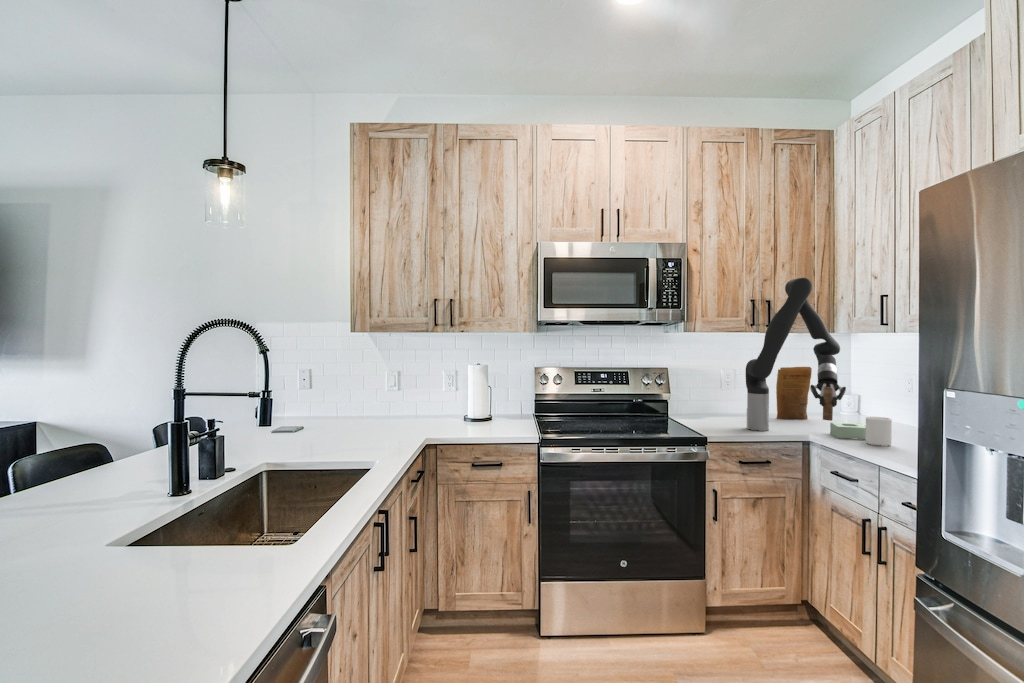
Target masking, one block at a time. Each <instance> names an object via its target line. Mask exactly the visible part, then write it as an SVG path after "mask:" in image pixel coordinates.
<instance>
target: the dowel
mask: <svg viewBox="0 0 1024 683" xmlns="http://www.w3.org/2000/svg"><path fill="white" fill-rule="evenodd" d="M823 397H824V406H822V420H823V421H831V422H833V416H834V415H833V412H834V411H833V410H834V407H833V388H832V387H824V392H823Z"/></svg>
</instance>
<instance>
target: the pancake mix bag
mask: <svg viewBox="0 0 1024 683" xmlns="http://www.w3.org/2000/svg"><path fill="white" fill-rule="evenodd" d="M776 377H777V378H776V384H775V385H776V391H775V394H776V419H779V420H808V419H807V418H809V417H808V412H807V410H808V404H809V402H808V401H809V399H808V398H809V392H810V386H811V379H812V367H811V366H794V367H793V366H792V367H786V366H785V367H782V366H781V367H780V368H778V370H777V375H776Z"/></svg>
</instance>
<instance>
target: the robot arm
mask: <svg viewBox="0 0 1024 683" xmlns="http://www.w3.org/2000/svg"><path fill="white" fill-rule="evenodd" d="M784 290H785V293H786V295H787V296H788V297H787V298H786V301H785V302H784V304H782V306H781V308H780V309H779V310H778V311H777V312H776V313H775V314H774V316H772V319H771V320H770V322H769V324H768V326H767V328H766V330H765V334H764V339H763V340H764V342H763V346H762V349H761V351H760V352H759V355H758V356H757V358H754V359H751V360H749V361H748V362H747V364H746V366H745V386H746V391H747V394H746V395H747V396H746V397H747V401H746V402H747V403H746V406H747V408H746V428H748V429H751V430H750V431H756V430H759V432H760V431H761V432H766V430H767V431H769V429H770V424H769V422H770V415H769V414H770V388H769V386H768V384H767V378H768V377H770V375H771V374H772V371H773V369H774V366H775V362H776V360H777V357H778V355H779V353H780V351H781V349H782V348H783V346H784V344H785V341H786V340H787V338H788V337H789V334H790V332H791V330H792V328H793V326H794V324H795V321H796V320H797V317H798V315H799V314H800V316H801V319H802V320H803V322H804V324H805V325H806V328H807V330H808V332H809V335H810V337H811V338H812V339H813V340H824V341H823V342H819V343H815V345H814V347H813V353H814V355H815V357H816V359H817V384H816V385H814V384H810V388H809V391H810V392H811V393H812V396H813V397H814V399H819V405H820V406H821V407H823V406H824V397H823V392H824V387H832V388H833V408H835V407H836V406H837V405H838V401H841V400H842V399H843V397H844V395H845V393H846V390H847V389H846V388H847V387H846V386H840V385H839V384H838V370H837V361H836V358H835V357H834V356H835V355H838V354H839V353H840V351H841V346H840V345H839V343H838V342H837V341H836V339H834V337H833V336H832V335H831V333H830V332H829V331H828V329H827V327H826V325H825V323H824V320H823V319H822V317H821V316H820V315H819V314H820V313H818V312H817V311H816V310H815V308H814V307H813V306H812V305H811V302H810V301H809V299H808V298H809V296H810V294H811V293H812V291H813V284H812V281H811V280H810V279H809V278H807V277H797V278H792V279H790V280H788V281H787V282H786V283H785V286H784ZM817 390H819V392H820V393H819V392H818V391H817ZM837 391H839V393H838V394H836V393H837ZM748 429H747V430H748Z"/></svg>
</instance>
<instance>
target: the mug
mask: <svg viewBox="0 0 1024 683" xmlns="http://www.w3.org/2000/svg"><path fill="white" fill-rule="evenodd" d="M892 420H893V419H892V418H889V417H884V416H865V426H866V440H865V443H866V444H867V443H868V445H870V444H872V445H871V446H875V445H881V446H880V447H889V446H888V445H890V446H891V445H892V436H893V435H892V432H893V431H892V429H893V428H892V427H893V426H892V425H893V424H892Z"/></svg>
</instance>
